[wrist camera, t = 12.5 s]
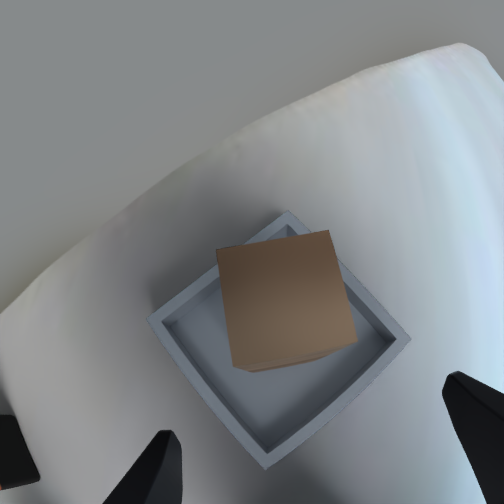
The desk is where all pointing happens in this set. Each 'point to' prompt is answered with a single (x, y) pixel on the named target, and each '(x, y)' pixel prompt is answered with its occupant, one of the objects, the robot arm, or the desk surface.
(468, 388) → the robot arm
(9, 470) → the battery
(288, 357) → the walnut block
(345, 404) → the tray
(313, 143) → the desk surface
